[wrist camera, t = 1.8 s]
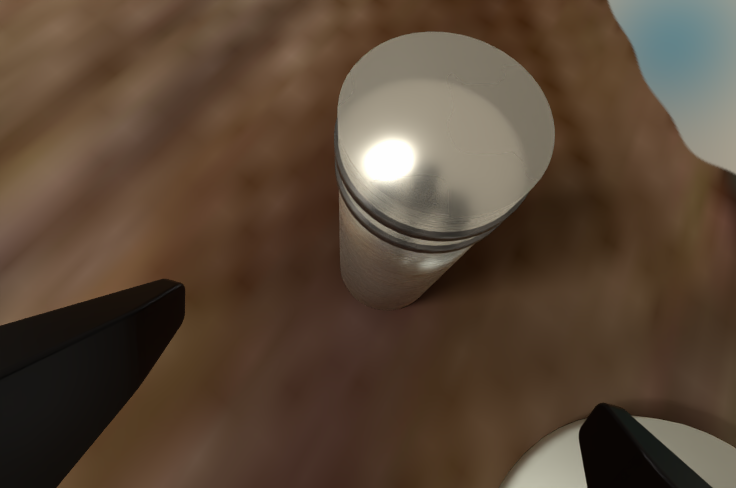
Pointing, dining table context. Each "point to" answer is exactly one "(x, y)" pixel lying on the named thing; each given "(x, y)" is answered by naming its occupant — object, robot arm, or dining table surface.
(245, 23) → the dining table surface
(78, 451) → the robot arm
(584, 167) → the dining table surface
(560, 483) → the white and grey disc
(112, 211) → the dining table surface
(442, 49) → the piston
